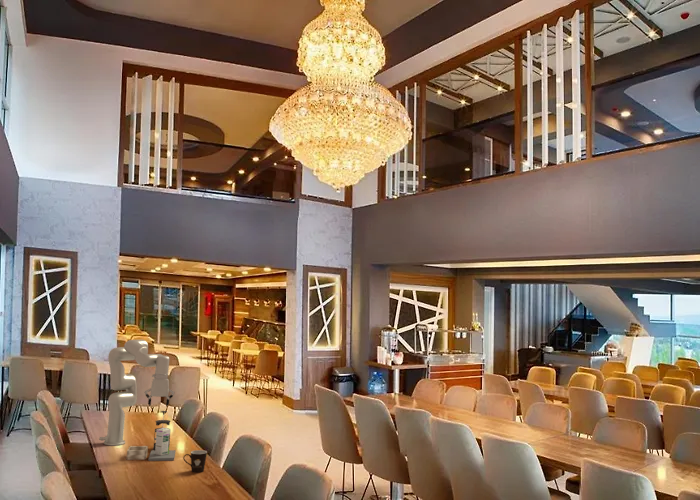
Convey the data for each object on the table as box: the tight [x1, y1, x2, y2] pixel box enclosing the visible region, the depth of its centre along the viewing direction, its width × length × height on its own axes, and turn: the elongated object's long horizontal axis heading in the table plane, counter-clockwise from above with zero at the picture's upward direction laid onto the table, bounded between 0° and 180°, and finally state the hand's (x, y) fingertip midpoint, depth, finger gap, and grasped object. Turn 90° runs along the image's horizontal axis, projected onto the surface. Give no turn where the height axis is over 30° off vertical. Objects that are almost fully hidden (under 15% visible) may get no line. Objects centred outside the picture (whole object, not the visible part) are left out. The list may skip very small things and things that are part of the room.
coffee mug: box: [183, 449, 208, 474], centre depth 314 cm, size 12×9×10 cm
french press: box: [152, 410, 171, 451], centre depth 358 cm, size 12×9×23 cm
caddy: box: [126, 445, 149, 461], centre depth 336 cm, size 10×10×5 cm
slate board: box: [148, 449, 176, 462], centre depth 339 cm, size 14×18×2 cm
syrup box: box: [154, 427, 171, 456], centre depth 340 cm, size 6×6×14 cm
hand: (158, 405), depth 344 cm, fingers open, 9 cm apart
